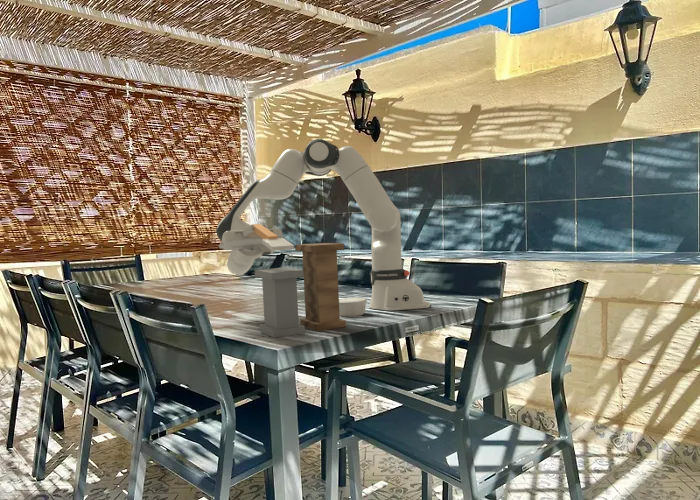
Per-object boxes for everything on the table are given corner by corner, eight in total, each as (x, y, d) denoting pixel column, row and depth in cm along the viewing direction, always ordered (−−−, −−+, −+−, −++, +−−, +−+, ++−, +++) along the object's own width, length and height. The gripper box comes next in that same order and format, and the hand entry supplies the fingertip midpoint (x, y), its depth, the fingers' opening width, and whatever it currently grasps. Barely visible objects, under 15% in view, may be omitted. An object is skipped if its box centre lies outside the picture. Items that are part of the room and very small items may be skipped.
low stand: (258, 331, 168) (254, 270, 167) (287, 326, 173) (284, 267, 172) (275, 338, 156) (271, 272, 155) (306, 333, 161) (303, 270, 160)
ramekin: (331, 317, 187) (330, 302, 187) (340, 311, 198) (339, 297, 198) (362, 317, 184) (361, 302, 184) (370, 311, 195) (369, 297, 195)
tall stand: (299, 324, 175) (295, 244, 174) (326, 320, 180) (323, 242, 179) (318, 331, 163) (314, 245, 162) (347, 327, 168) (343, 243, 167)
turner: (245, 230, 177) (245, 224, 176) (265, 229, 180) (265, 223, 180) (271, 250, 158) (272, 244, 157) (293, 249, 161) (294, 242, 161)
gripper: (216, 241, 183) (225, 219, 172) (272, 237, 193) (284, 217, 182) (219, 257, 180) (229, 236, 170) (277, 253, 191) (289, 233, 180)
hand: (258, 226), depth 176 cm, fingers closed on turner, 3 cm apart
